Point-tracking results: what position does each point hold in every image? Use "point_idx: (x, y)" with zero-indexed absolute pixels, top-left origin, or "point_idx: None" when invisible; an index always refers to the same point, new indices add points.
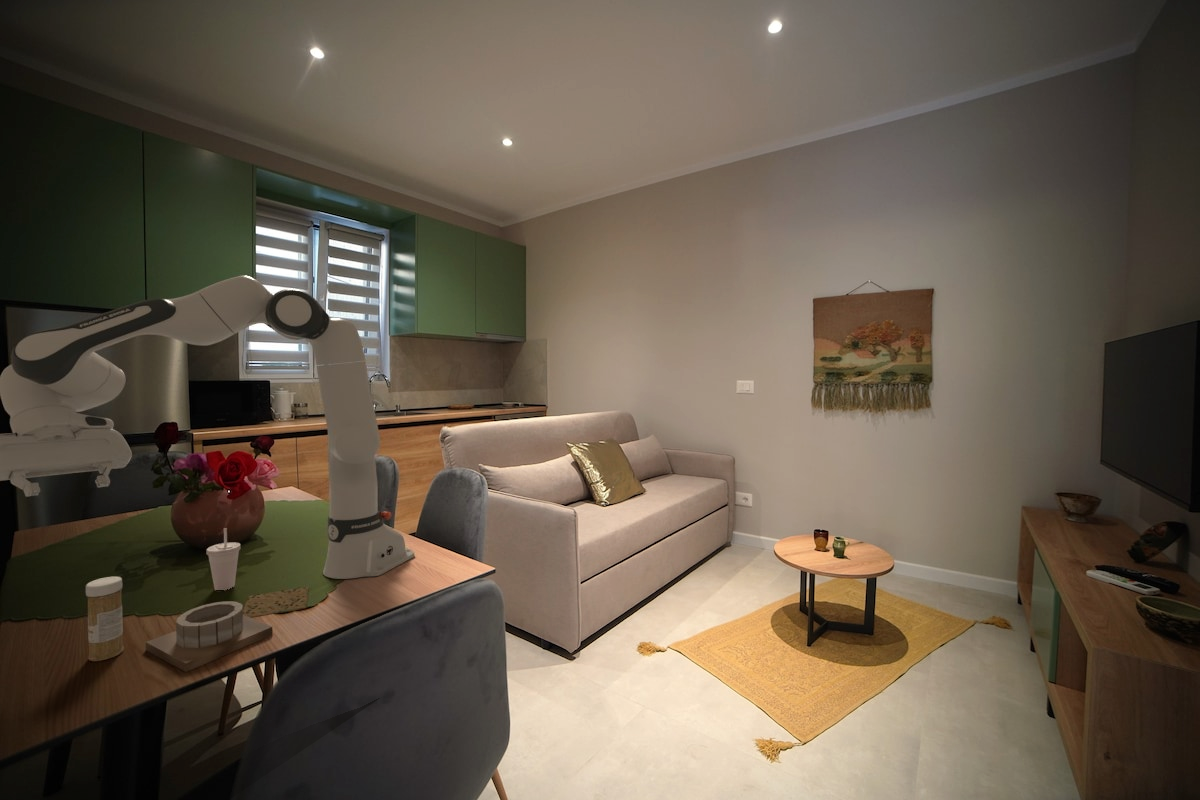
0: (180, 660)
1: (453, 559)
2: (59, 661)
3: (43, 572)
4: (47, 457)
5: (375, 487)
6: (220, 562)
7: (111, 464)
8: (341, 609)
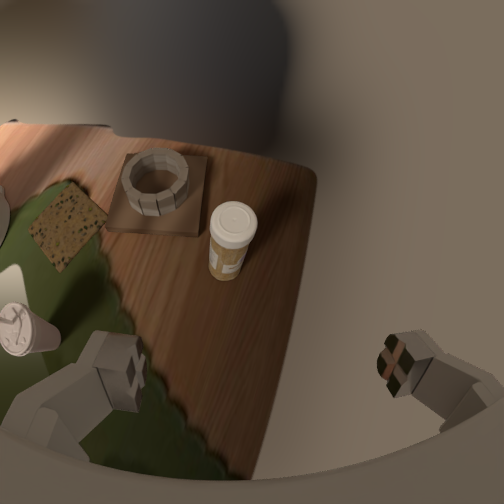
0: (205, 165)
1: None
2: (257, 299)
3: None
4: (464, 499)
5: None
6: (37, 317)
7: (9, 410)
8: (72, 152)
